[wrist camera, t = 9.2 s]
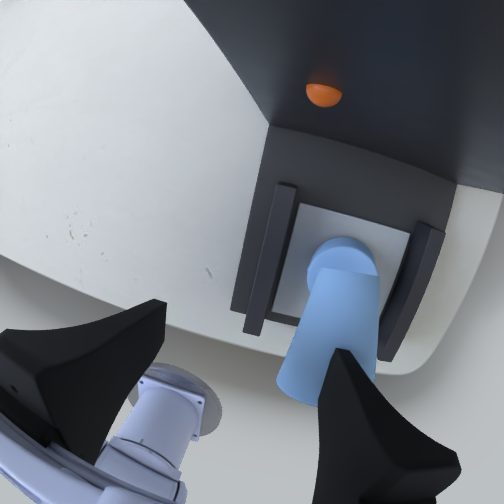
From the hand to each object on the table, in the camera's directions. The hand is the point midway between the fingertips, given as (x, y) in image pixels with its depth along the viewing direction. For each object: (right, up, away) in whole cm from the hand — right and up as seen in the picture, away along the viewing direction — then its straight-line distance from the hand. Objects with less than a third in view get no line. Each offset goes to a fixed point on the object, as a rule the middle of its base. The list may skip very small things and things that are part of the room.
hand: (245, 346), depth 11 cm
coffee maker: (+7, +6, +8) cm, 13 cm away
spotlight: (+6, +2, +8) cm, 10 cm away
